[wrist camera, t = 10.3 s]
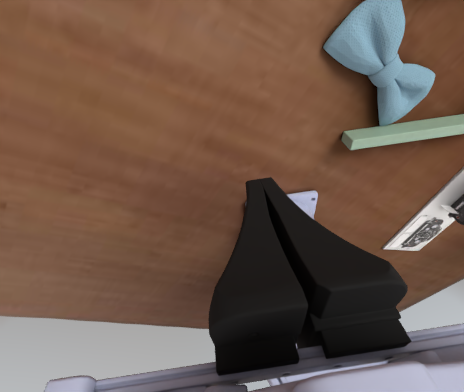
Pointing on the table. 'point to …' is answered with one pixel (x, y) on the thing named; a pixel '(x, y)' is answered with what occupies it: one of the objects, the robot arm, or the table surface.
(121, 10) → the table surface
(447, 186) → the grey board with parts
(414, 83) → the bow tie
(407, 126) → the bay
